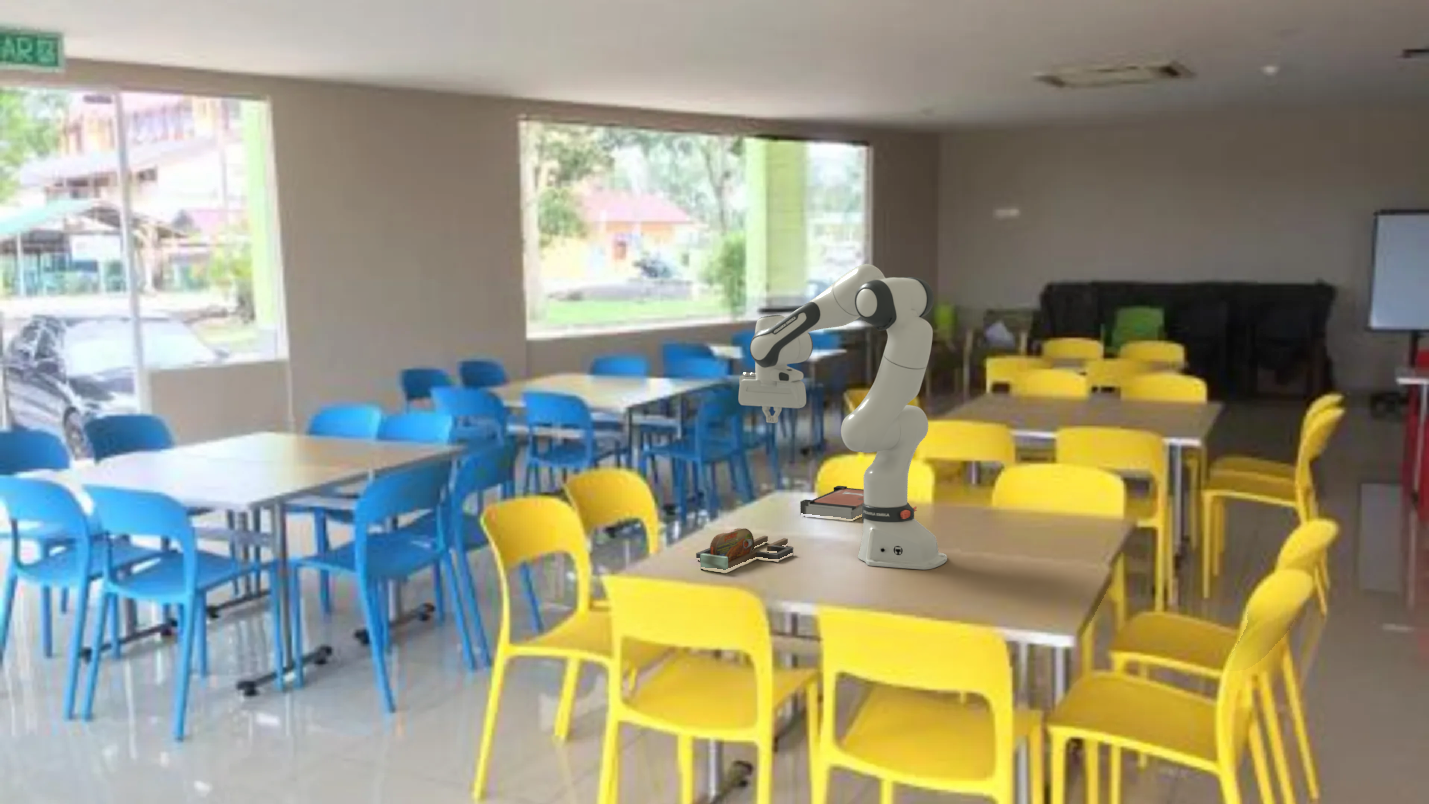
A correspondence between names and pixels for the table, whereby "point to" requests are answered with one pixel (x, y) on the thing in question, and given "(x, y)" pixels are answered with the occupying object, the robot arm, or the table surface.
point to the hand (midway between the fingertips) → (772, 422)
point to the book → (836, 503)
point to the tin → (732, 544)
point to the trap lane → (723, 563)
